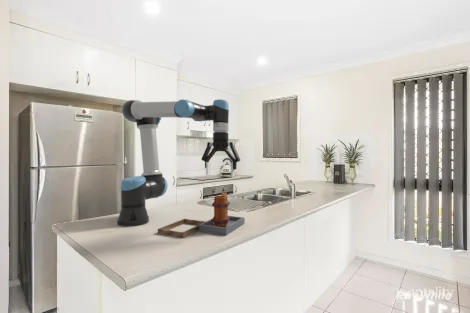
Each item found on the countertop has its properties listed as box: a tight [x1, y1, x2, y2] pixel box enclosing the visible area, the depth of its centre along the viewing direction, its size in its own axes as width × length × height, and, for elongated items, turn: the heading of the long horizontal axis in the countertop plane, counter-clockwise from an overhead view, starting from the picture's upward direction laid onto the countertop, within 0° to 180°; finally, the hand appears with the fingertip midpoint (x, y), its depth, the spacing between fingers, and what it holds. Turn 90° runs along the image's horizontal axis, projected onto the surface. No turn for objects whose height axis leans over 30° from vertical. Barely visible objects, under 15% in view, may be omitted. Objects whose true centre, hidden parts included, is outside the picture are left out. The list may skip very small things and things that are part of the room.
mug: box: [211, 192, 230, 227], centre depth 122 cm, size 15×8×15 cm, turn 168°
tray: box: [198, 215, 246, 236], centre depth 122 cm, size 14×21×3 cm, turn 156°
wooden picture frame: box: [157, 218, 207, 239], centre depth 118 cm, size 14×20×2 cm
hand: (220, 175), depth 123 cm, fingers open, 13 cm apart
